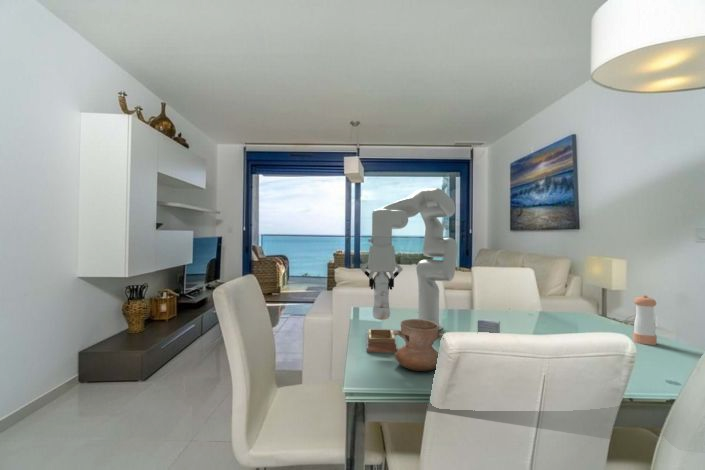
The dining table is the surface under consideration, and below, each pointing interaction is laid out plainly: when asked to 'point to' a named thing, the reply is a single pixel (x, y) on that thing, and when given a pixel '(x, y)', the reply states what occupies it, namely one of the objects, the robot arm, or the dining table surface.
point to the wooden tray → (380, 346)
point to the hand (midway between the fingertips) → (381, 288)
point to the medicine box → (488, 326)
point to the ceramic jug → (418, 344)
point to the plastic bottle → (381, 296)
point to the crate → (381, 336)
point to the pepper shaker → (644, 321)
